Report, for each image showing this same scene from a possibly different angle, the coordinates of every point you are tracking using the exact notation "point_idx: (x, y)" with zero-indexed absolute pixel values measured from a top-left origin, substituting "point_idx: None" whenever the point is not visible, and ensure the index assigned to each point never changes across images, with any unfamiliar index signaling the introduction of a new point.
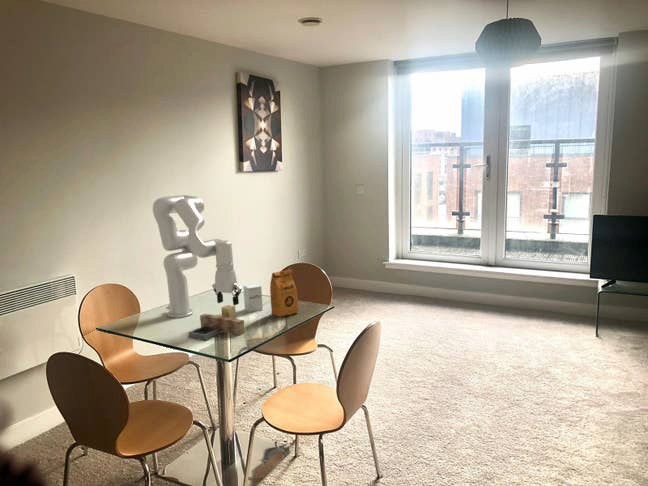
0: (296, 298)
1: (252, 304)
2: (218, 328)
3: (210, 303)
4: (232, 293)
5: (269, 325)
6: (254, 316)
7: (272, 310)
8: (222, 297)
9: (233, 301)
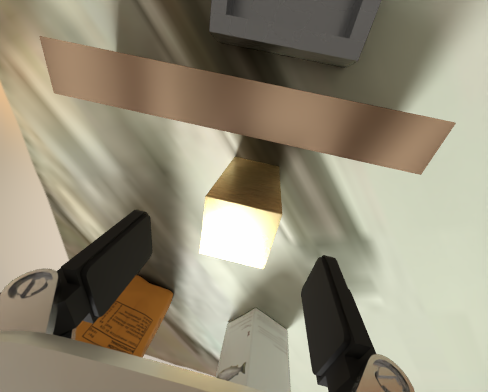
0: None
1: (243, 337)
2: (226, 27)
3: (442, 373)
4: (23, 328)
5: (106, 204)
6: (216, 276)
7: (153, 298)
8: (308, 328)
9: (115, 231)
